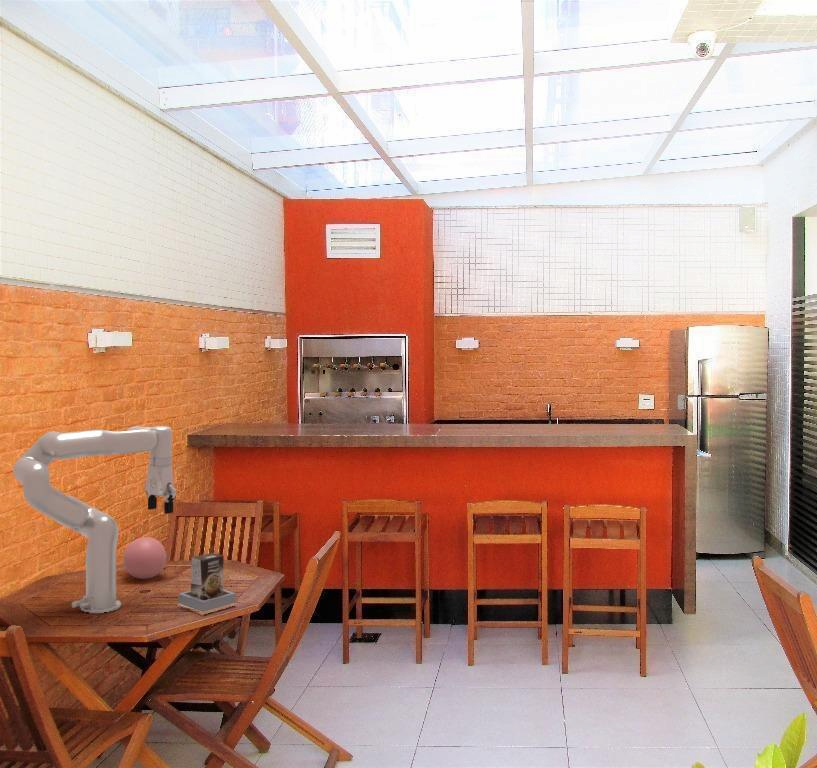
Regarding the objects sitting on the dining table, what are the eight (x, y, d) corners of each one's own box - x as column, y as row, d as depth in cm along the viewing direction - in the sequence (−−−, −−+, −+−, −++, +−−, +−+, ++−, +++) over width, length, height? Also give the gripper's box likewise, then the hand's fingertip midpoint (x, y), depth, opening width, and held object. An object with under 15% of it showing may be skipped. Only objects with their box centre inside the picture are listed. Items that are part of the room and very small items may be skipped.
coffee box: (202, 608, 283) (202, 560, 282) (190, 604, 287) (190, 557, 286) (223, 602, 291) (224, 555, 290) (211, 598, 294) (212, 551, 294)
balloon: (153, 567, 335) (153, 528, 334) (172, 580, 319) (172, 539, 318) (113, 573, 326) (113, 533, 325) (131, 586, 310) (131, 544, 309)
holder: (203, 615, 280) (203, 602, 280) (178, 606, 288) (178, 593, 288) (235, 606, 290) (235, 593, 290) (211, 597, 299) (211, 585, 298)
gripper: (136, 460, 298) (136, 509, 299) (166, 466, 287) (165, 516, 288) (155, 458, 304) (155, 506, 305) (184, 463, 293) (184, 513, 294)
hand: (160, 511), depth 296 cm, fingers open, 9 cm apart
